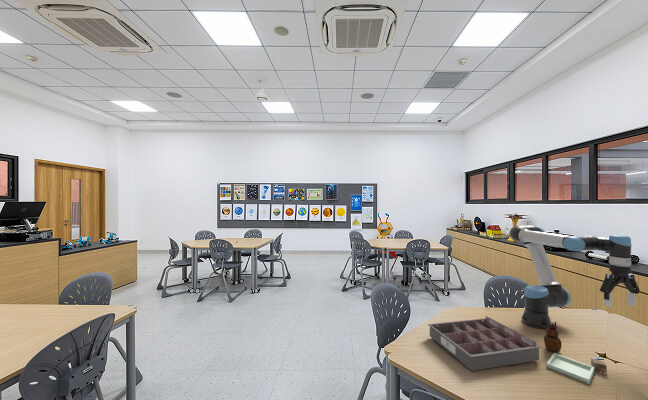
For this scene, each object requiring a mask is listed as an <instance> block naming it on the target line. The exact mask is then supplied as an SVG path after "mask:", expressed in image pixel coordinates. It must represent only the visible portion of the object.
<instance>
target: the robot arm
mask: <svg viewBox="0 0 648 400" xmlns="http://www.w3.org/2000/svg"><path fill="white" fill-rule="evenodd" d="M508 233H509V237H510V239H512V240H513V241H514V242H518V243H523V246H524V247H526V248H527V249H528V252H529V255H530V257H531V261H532V264H533V267H534V268H535V272H536V274H537V277H538V279H539V284H538V285H537V284H536V285H534V284H532V285H531V284H529V285H527V286H526V287H525V288H524V292H523V293H524V310H523V313H522V315H521V322H522V323H523V324H525V325H527V326H529V327H532V328H534V329H535V328H536V329H541V330H546V329H547V328H549V326H550V325H552V319H551V317H550V315H549V308H557V307H558V308H559V307H561V308H562V307H566V306H568V305H569V304H570V303H571V299H572V298H571V294H570V292H569V291H568V290H567V289H566V288H565V287H563V285H562V284H561V283H560V282H559V281H557V279H556V276H555V273H554V271H553V268H552V265H551V263H550V261H549V260H550V259H549V258H548V255H547V253H546V250H545V248H544V245H545V246H550V247H556V248H563V249H567V250H568V251H571V252H583V251H600V252H606V253H608V254H609V256H608V263H609V265H608V270H609V272H611V274H610V273H605V276H604V280H603V281H602V284H601V286H600V288H599V292H601V293H603V304H604V305H603V306H606V307H610V308H612V306H613V304H612V303H613V302H612V301H613V294H612V292H613V290H614V289H615V288H616V286H618V285H619V284H623V285H624V287H626V289H627V290H628V291H627V293H626V294H627V295H626V296H627V302H626V303H627V305H628V306H629V305H630V306H632V307H636V298H637V297H636V296H637V295H639V293H640V291H641V290H640V287H639V286H638V283H637V281H636V279H635V278H636V277H635V274H632V267H631V266H632V246H633V245H632V239H631V237H630V236H628V235H619V234H610V235H608V237H601V236H595V235H584V236H575V235H567V234H564V235H563V234H558V233H550V232H545V230H544V229H543V228H542V227H540V226H539V225H532V224H531V225H515V226H513V227H511V229H510V230H509V232H508Z"/></svg>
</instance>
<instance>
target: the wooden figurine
mask: <svg viewBox="0 0 648 400" xmlns="http://www.w3.org/2000/svg"><path fill="white" fill-rule="evenodd" d="M551 322H552V321H551ZM559 333H560V332H559V331H558V329H557V321H555V322H554V321H553V322H552V325H550V326H549V328H547V329H545V335H544V337H543V341H544V346H545V349H546V350H548V351H550V352H553V353H559V352H560V351H561V349H562V340H561V339H560V337H559V335H560V334H559Z"/></svg>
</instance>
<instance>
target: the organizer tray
mask: <svg viewBox="0 0 648 400" xmlns="http://www.w3.org/2000/svg"><path fill="white" fill-rule="evenodd" d="M427 326H429V337H430V338H431V339H433V340H434V341H435V342H436V343H437V344H439V345H440V346H441V347H442V348H443V349H444V350H445V351H447V352H448V353H449V354H451V355H452V356H453V358H455V359H457V360H458V362H461V363H462V365H464V366H465V367H466V368H468V369H469V370H470V371H477V370H483V369H491V368H497V367H502V366H509V365H517V364H522V363H531V362H536V361H540V349H541V348H542V346H540V345H539V344H537V343H538V342H537V341H536V340H534V339H532V338H530V337H527V336H526V335H525V334H522V333H520V332H518V331H516V330H514V329H512V328H510V327H508V326H507V325H504V324H502V323H501V322H499V321H497V320H496V319H493V318H492V317H489V316H487V315H485V317H484V318H475V319H466V320H465V319H464V320H457V321H447V322H446V321H445V322H435V323H429V324H427Z"/></svg>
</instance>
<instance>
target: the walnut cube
mask: <svg viewBox="0 0 648 400" xmlns="http://www.w3.org/2000/svg"><path fill="white" fill-rule="evenodd" d="M590 362H591V363H590V366H592V367H595V371H596V373H599V372H602V373H601V374H603V373H606V374H605V375H608V372H607V371H608V365H607V364H606V363H605V361H604V360H600V359H595V358H591V359H590Z"/></svg>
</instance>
